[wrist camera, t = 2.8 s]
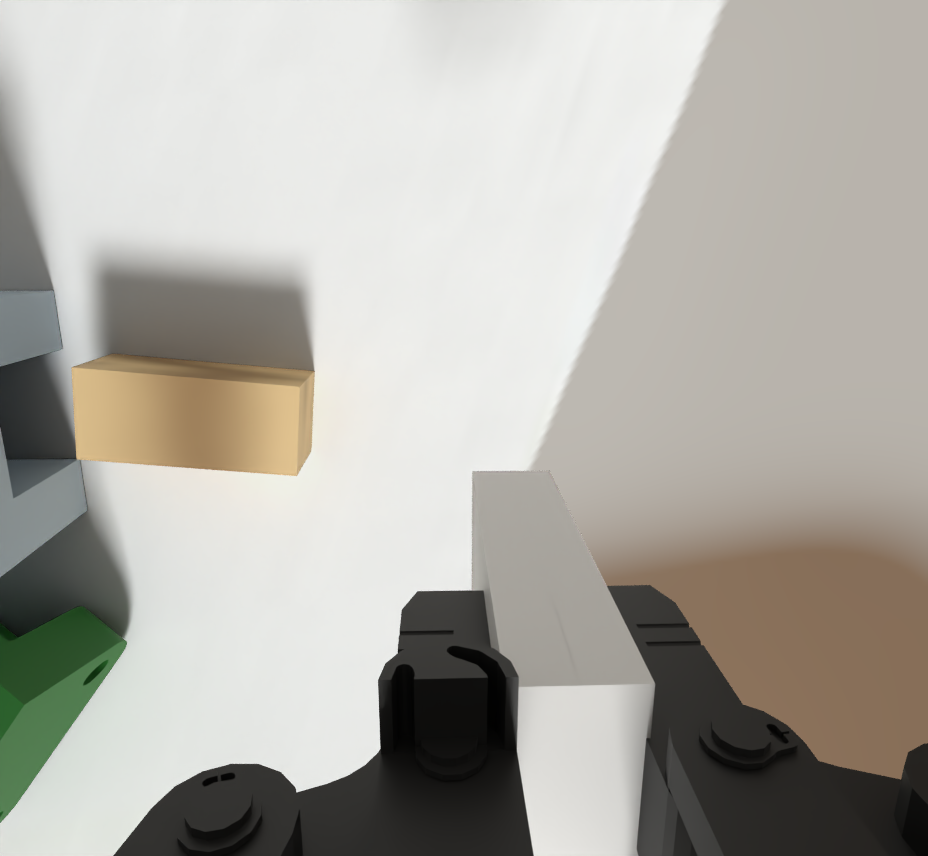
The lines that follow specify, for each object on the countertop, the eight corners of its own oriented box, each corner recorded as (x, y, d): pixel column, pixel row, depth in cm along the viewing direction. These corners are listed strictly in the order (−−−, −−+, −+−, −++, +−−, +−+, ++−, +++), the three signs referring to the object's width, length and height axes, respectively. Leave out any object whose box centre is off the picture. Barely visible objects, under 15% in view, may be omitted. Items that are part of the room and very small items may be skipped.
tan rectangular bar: (118, 434, 24) (76, 459, 22) (115, 352, 24) (71, 367, 21) (312, 449, 25) (296, 476, 22) (315, 370, 24) (299, 386, 21)
